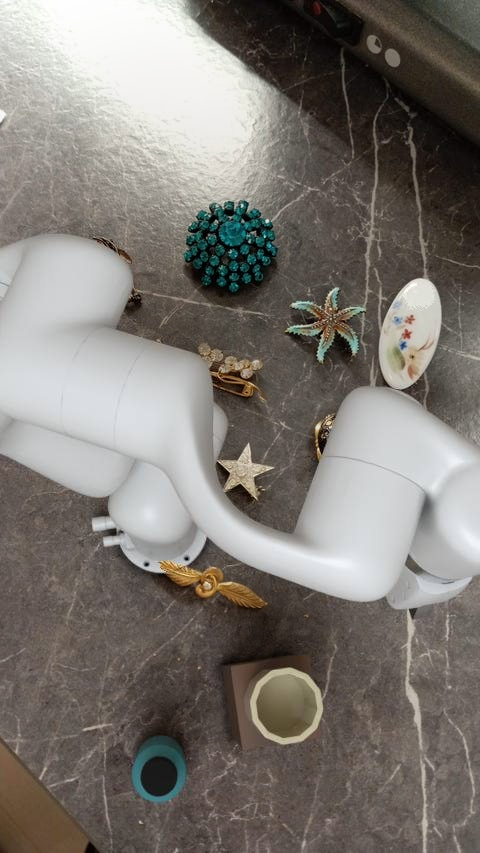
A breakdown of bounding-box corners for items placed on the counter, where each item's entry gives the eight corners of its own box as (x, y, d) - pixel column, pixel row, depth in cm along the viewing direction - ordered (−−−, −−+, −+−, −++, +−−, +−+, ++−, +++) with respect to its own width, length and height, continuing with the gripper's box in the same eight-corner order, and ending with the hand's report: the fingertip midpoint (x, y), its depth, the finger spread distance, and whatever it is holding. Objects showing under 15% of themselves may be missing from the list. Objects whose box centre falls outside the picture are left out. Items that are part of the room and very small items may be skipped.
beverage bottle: (134, 735, 118) (125, 749, 98) (185, 730, 118) (186, 743, 99) (136, 788, 116) (128, 813, 97) (188, 783, 117) (190, 807, 97)
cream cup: (249, 740, 99) (256, 749, 89) (239, 673, 100) (245, 674, 91) (313, 730, 99) (328, 737, 90) (302, 663, 101) (315, 663, 91)
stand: (231, 735, 119) (242, 750, 98) (221, 665, 121) (230, 666, 100) (298, 724, 119) (323, 737, 99) (287, 655, 122) (309, 653, 101)
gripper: (375, 439, 70) (334, 484, 88) (417, 645, 67) (365, 648, 84) (467, 426, 71) (408, 473, 89) (513, 628, 67) (442, 635, 85)
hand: (387, 558), depth 87 cm, fingers closed
